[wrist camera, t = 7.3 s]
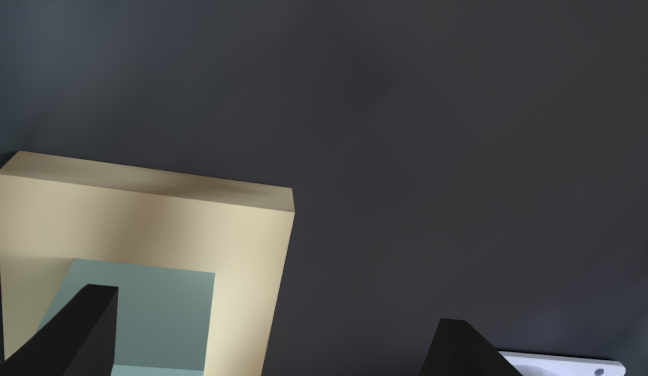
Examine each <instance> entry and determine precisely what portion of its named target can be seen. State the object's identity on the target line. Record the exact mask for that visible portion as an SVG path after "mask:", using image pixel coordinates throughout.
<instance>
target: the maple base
mask: <svg viewBox="0 0 648 376" xmlns="http://www.w3.org/2000/svg"><path fill="white" fill-rule="evenodd" d="M294 214H295V210H294V203H293V195H292V188H286V187H278V186H271V185H264V184H257V183H249V182H242V181H235V180H228V179H220V178H213V177H206V176H199V175H191V174H184V173H177V172H170V171H163V170H155V169H148V168H141V167H134V166H126V165H119V164H112V163H105V162H97V161H90V160H83V159H76V158H69V157H61V156H54V155H47V154H40V153H32V152H25V151H18V152H17V153H16V154H15V155H14V156H13V157H12V158H11V159H10V160H9V161H8V162H7V163H6V164H5V165H4V166H3V167H2V168H1V169H0V273H1V293H2V313H3V332H4V352H5V360H6V359H7V358H9V357H10V356H11V355H12V354H13V353H15V352H16V351H17V350H18V349H19V348H20V347H21V346H23V345H24V344H25V343H26V342H27V341H28V340H29V339H30V338H31V337H32V336H34V334H35V332H36V330H37V328H38V326H39V325H40V323H41V321H42V319H43V317H44V315H45V313H46V311H47V310H48V308H49V306H50V304H51V302H52V300H53V298H54V297H55V295H56V293H57V291H58V289H59V287H60V285H61V283H62V282H63V280H64V278H65V276H66V274H67V272H68V270H69V268H70V267H71V265H72V263H73V261H74V259H75V258H78V259H87V260H97V261H107V262H116V263H126V264H135V265H145V266H154V267H164V268H173V269H183V270H192V271H202V272H212V273H215V281H214V289H213V298H212V307H211V315H210V324H209V333H208V341H207V350H206V358H205V367H204V375H203V376H261V372H262V367H263V362H264V357H265V353H266V348H267V343H268V338H269V333H270V329H271V324H272V319H273V314H274V310H275V305H276V300H277V295H278V290H279V286H280V281H281V276H282V271H283V267H284V262H285V257H286V252H287V247H288V243H289V238H290V233H291V228H292V224H293V219H294Z"/></svg>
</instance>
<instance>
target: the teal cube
mask: <svg viewBox="0 0 648 376" xmlns="http://www.w3.org/2000/svg"><path fill="white" fill-rule="evenodd" d="M214 281H215V273H212V272H202V271H192V270H183V269H173V268H164V267H154V266H145V265H135V264H126V263H116V262H107V261H97V260H87V259H78V258H75V259H74V261H73V263H72V265H71V267H70V268H69V270H68V272H67V274H66V276H65V278H64V280H63V282H62V283H61V285H60V287H59V289H58V291H57V293H56V295H55V297H54V298H53V300H52V302H51V304H50V306H49V308H48V310H47V311H46V313H45V315H44V317H43V319H42V321H41V323H40V325H39V326H38V328H37V330H36V332H35V334H36V333H37V332H38V331H39V330H40V329H41V328H42V327H43V326H45V325H46V324H47V323H48V322H49V321H50V320H51V319H52V318H53V317H54V316H55V315H56V314H57V313H58V312H59V311H60V310H61V309H62V308H63V307H64V306H65V305H66V304H67V303H68V302H69V301H70V300H71V299H72V298H73V297H74V296H75V295H76V294H77V293H78V292H79V290H80V289H81V288H82V287H84V286H85V285H87V284H97V285H107V286H117V287H119V291H118V308H117V325H116V342H115V359H114V364H113V368H112V372H111V376H203V375H204V367H205V358H206V350H207V341H208V333H209V324H210V315H211V307H212V298H213V289H214ZM35 334H34V335H35Z"/></svg>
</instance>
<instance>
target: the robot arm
mask: <svg viewBox="0 0 648 376" xmlns="http://www.w3.org/2000/svg"><path fill="white" fill-rule="evenodd" d="M118 291H119V287H117V286H107V285H97V284H87V285H85V286H84V287H82V288H81V289H80V290H79V292H78V293H77V294H76V295H75V296H74V297H73V298H72V299H71V300H70V301H69V302H68V303H67V304H66V305H65V306H64V307H63V308H62V309H61V310H60V311H59V312H58V313H57V314H56V315H55V316H54V317H53V318H52V319H51V320H50V321H49V322H48V323H47V324H46V325H45V326H43V327H42V328H41V329H40V330H39V331H38V332H37V333H36V334H35V335H34V336H32V337H31V338H30V339H29V340H28V341H27V342H26V343H25V344H24V345H23V346H21V347H20V348H19V349H18V350H17V351H16V352H15V353H13V354H12V355H11V356H10V357H9V358H7V359H6V360H5V361H4V362H3V363H1V364H0V376H111V372H112V368H113V364H114V359H115V342H116V325H117V308H118ZM624 374H625V368H624V367H623V365H622V364H621V363H620V362H617V361H606V360H595V359H583V358H572V357H560V356H549V355H538V354H526V353H515V352H503V351H497V350H496V349H495V348H494V347H493V346H492V345H491V344H490V343H489V342H488V341H487V340H486V339H485V338H484V337H483V336H482V335H481V334H480V333H479V332H477V331H476V330H475V329H474V328H473V327H472V326H471V325H470V324H468V323H467V322H466V321H464V320H454V319H444V318H441V319H440V322H439V324H438V327H437V330H436V332H435V335H434V338H433V340H432V343H431V346H430V349H429V351H428V354H427V357H426V359H425V362H424V365H423V367H422V370H421V373H420V376H624Z"/></svg>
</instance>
